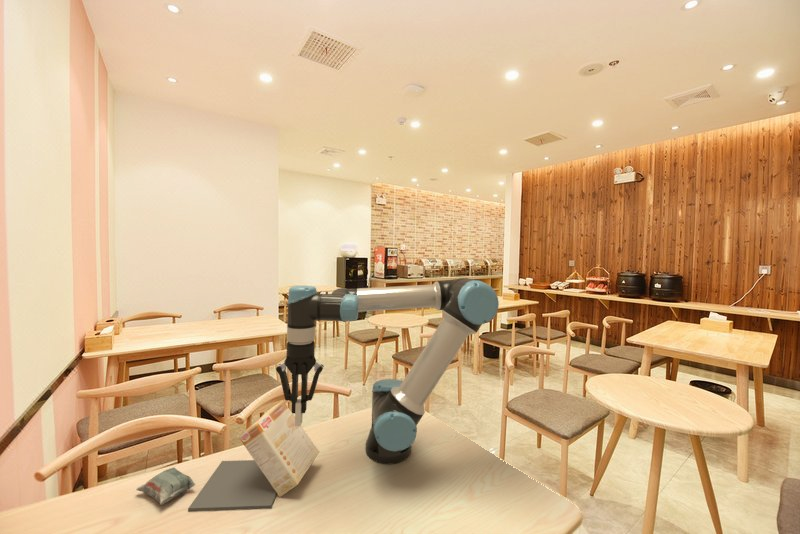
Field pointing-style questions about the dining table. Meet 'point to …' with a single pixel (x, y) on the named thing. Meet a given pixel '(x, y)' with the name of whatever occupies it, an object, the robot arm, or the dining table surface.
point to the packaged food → (167, 485)
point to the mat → (235, 488)
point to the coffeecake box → (280, 448)
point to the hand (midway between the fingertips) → (298, 423)
